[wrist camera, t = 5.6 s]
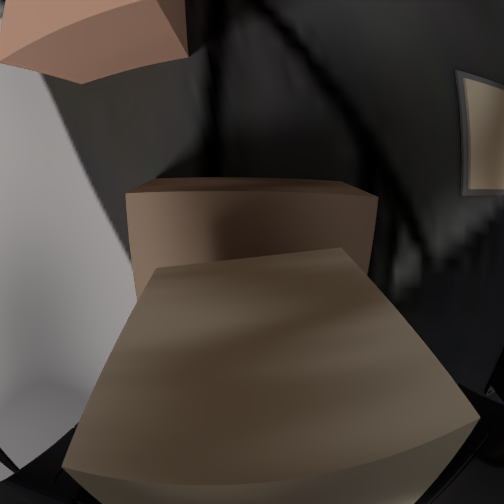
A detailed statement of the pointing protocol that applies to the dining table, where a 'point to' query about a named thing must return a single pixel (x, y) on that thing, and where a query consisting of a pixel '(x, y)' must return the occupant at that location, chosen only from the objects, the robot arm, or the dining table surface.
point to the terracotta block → (91, 36)
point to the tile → (481, 135)
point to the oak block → (268, 392)
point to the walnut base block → (244, 220)
